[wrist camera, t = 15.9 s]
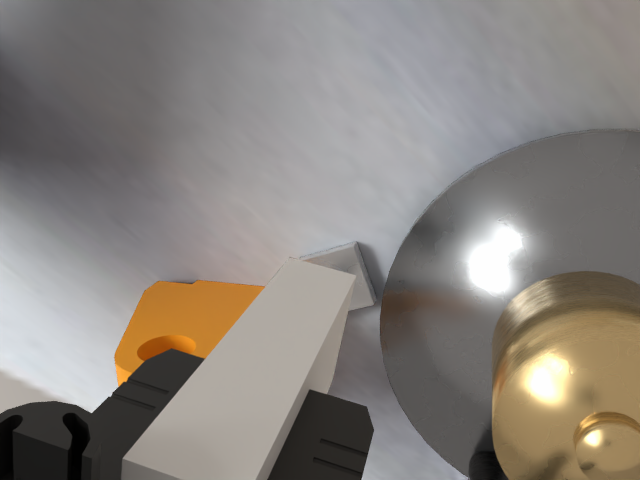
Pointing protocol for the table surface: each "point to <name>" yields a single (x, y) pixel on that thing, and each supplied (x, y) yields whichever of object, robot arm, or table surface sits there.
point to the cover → (569, 380)
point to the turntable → (499, 274)
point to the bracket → (181, 320)
